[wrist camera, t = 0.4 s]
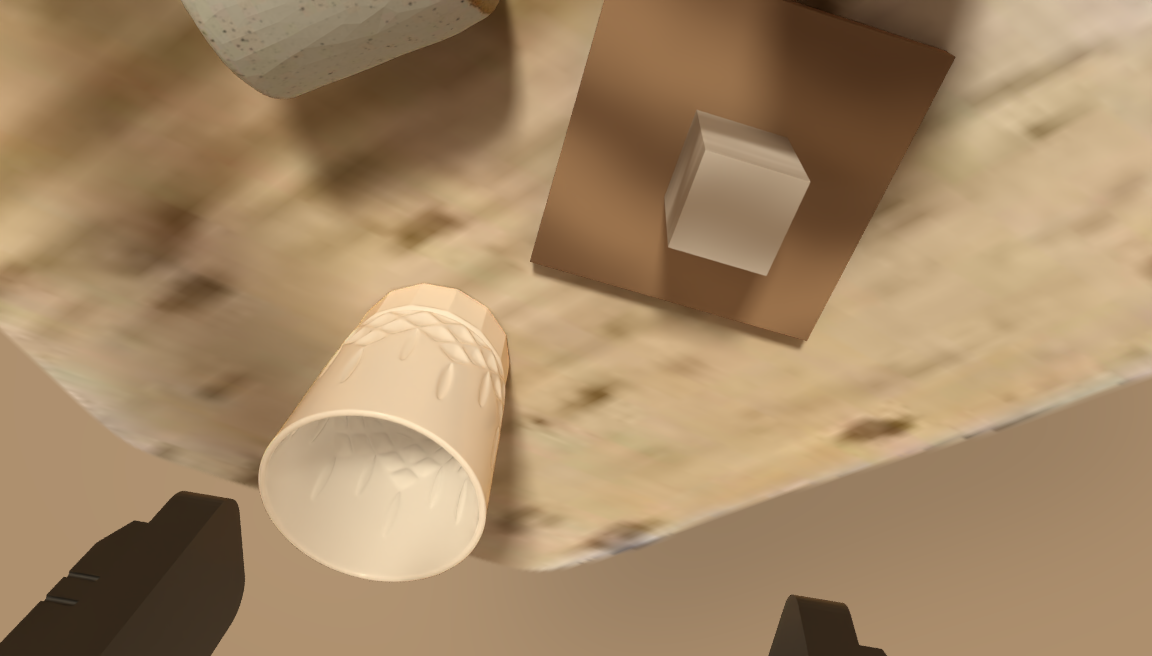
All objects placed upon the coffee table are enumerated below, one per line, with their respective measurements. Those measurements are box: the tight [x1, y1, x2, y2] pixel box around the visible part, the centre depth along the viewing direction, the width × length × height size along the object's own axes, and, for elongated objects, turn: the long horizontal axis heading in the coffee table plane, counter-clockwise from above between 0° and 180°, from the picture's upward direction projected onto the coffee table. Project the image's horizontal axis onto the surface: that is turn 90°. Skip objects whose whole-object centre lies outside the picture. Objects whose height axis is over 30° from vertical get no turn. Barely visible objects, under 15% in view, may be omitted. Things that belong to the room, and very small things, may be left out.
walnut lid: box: [530, 0, 955, 341], centre depth 28 cm, size 12×12×6 cm
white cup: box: [258, 283, 510, 582], centre depth 32 cm, size 8×8×10 cm
